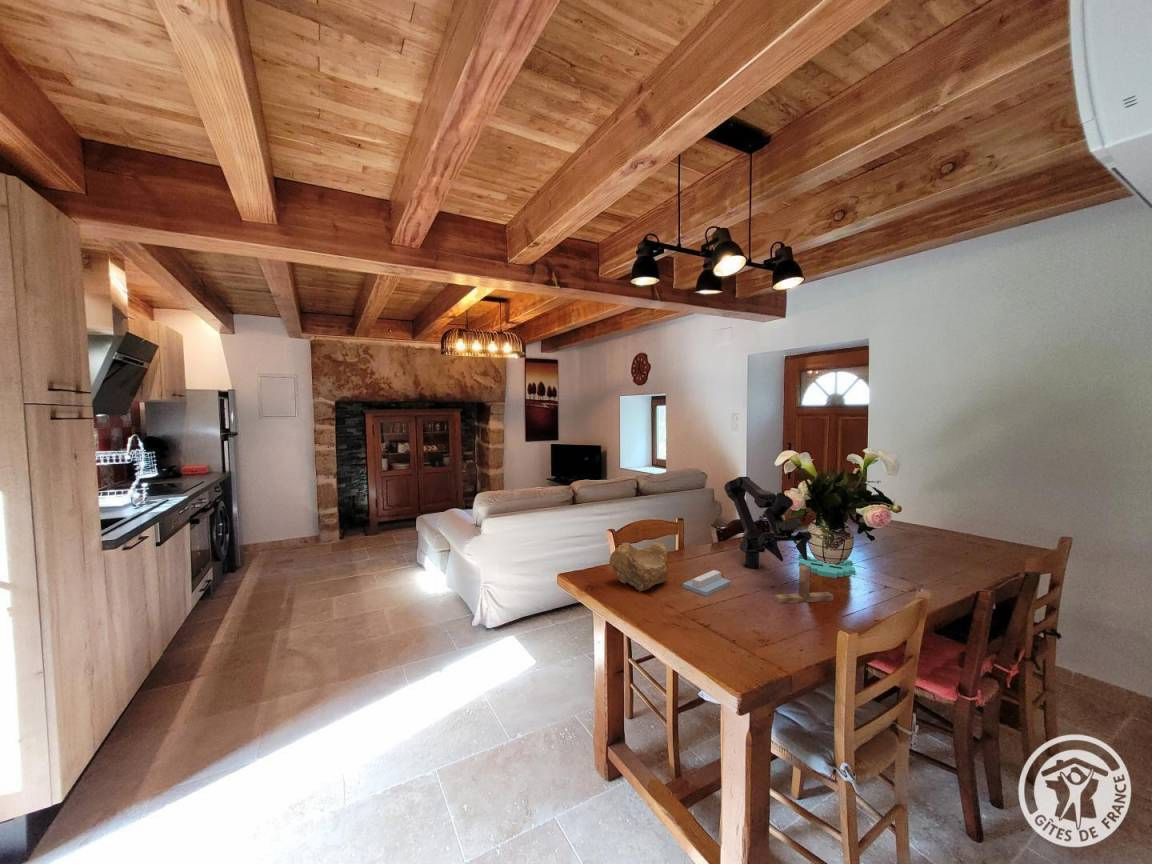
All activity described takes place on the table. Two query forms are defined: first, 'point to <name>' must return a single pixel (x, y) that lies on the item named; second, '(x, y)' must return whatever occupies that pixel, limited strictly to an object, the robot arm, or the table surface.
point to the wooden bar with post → (803, 591)
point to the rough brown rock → (640, 565)
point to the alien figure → (828, 567)
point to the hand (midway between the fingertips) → (794, 560)
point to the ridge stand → (707, 583)
